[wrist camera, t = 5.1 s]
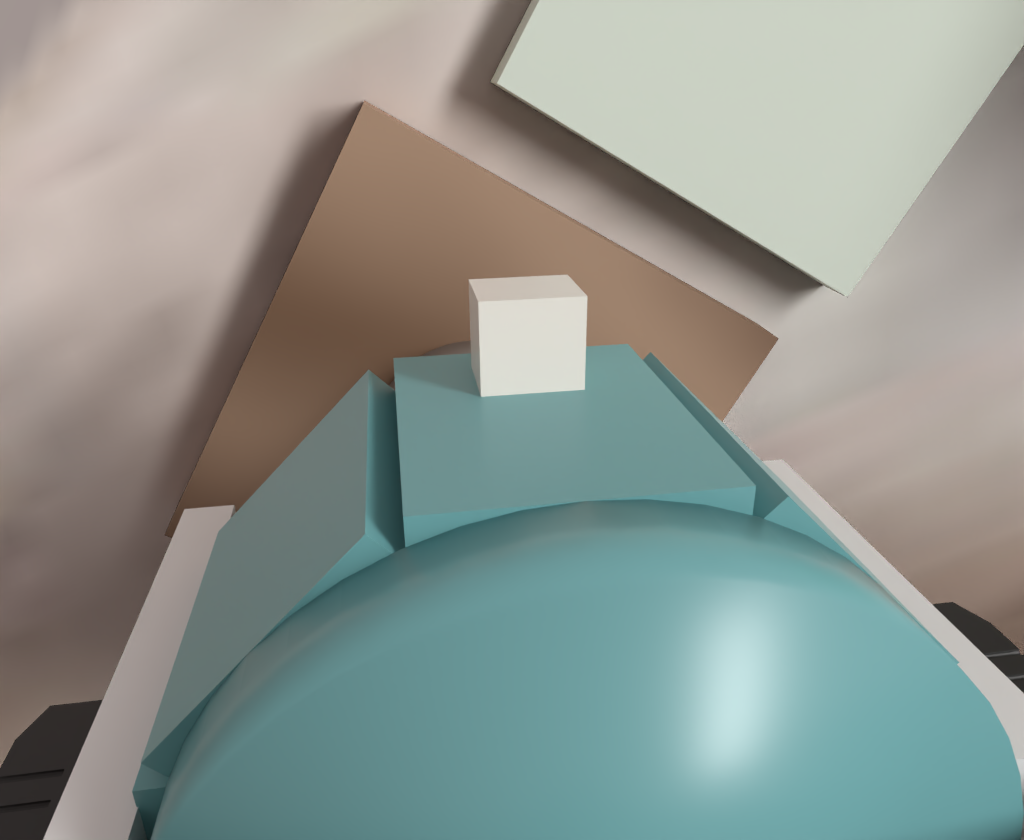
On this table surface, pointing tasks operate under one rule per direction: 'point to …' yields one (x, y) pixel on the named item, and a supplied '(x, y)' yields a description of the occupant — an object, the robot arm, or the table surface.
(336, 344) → the post stand
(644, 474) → the cap
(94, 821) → the robot arm
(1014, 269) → the table surface
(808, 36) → the mat
